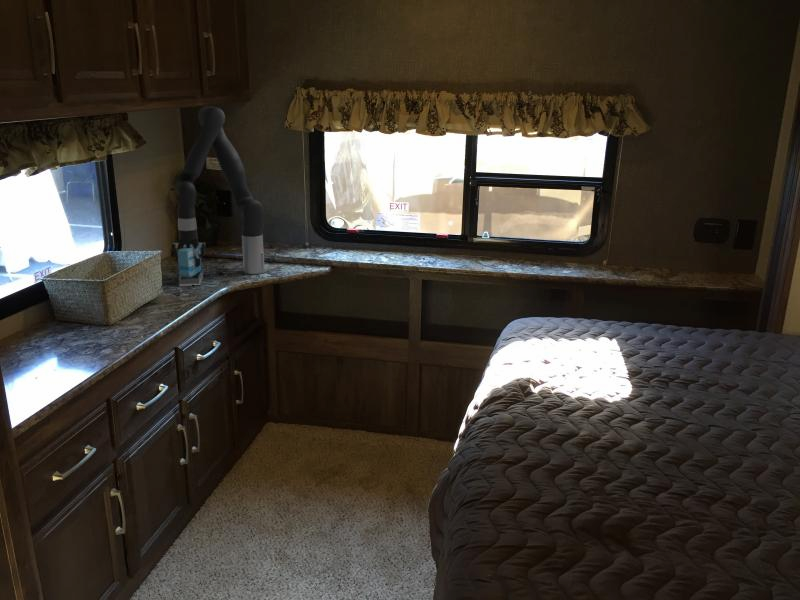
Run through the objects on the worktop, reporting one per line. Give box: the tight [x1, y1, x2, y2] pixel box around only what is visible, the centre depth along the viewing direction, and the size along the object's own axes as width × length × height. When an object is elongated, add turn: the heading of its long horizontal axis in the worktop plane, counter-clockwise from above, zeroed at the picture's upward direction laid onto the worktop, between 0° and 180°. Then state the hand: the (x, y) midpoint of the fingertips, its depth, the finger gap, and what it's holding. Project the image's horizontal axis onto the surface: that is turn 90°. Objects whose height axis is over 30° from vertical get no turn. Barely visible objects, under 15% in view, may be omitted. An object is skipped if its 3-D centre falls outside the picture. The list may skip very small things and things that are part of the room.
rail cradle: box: [178, 264, 204, 287], centre depth 293 cm, size 8×16×5 cm, turn 10°
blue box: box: [177, 245, 203, 277], centre depth 291 cm, size 12×4×12 cm, turn 170°
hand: (190, 266), depth 292 cm, fingers open, 5 cm apart
